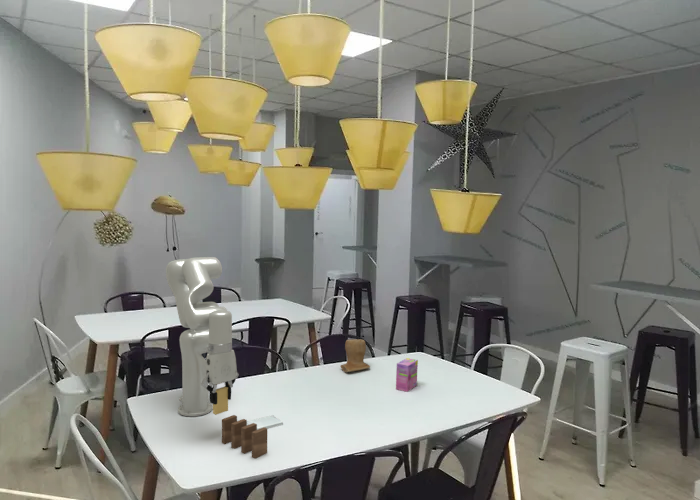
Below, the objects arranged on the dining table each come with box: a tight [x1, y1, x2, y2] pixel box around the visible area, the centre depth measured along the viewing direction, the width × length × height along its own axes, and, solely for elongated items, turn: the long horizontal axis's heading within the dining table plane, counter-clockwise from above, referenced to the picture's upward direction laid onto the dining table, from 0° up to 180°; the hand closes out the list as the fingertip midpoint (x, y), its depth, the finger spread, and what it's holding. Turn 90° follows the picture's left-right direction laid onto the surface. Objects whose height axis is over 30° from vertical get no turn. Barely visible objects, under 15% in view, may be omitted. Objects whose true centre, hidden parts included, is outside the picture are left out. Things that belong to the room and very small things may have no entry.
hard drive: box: [247, 414, 284, 430], centre depth 183 cm, size 2×8×12 cm
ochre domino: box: [212, 386, 229, 416], centre depth 172 cm, size 2×5×8 cm, turn 141°
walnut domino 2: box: [230, 418, 248, 450], centre depth 166 cm, size 2×5×8 cm, turn 141°
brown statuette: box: [340, 338, 371, 373], centre depth 251 cm, size 15×12×15 cm
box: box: [395, 357, 419, 393], centre depth 226 cm, size 10×6×12 cm, turn 148°
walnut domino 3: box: [240, 423, 257, 454], centre depth 163 cm, size 2×5×8 cm, turn 141°
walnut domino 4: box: [251, 427, 268, 460], centre depth 160 cm, size 2×5×8 cm, turn 141°
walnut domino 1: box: [221, 414, 238, 445], centre depth 170 cm, size 2×5×8 cm, turn 141°
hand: (220, 400), depth 172 cm, fingers closed on ochre domino, 4 cm apart
